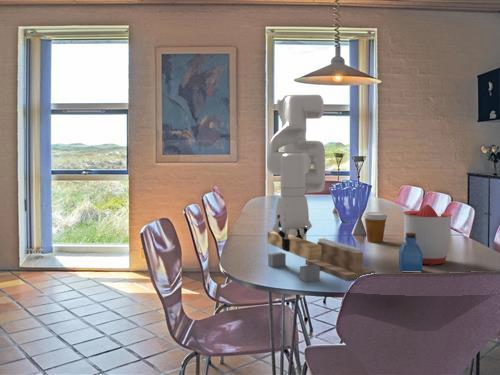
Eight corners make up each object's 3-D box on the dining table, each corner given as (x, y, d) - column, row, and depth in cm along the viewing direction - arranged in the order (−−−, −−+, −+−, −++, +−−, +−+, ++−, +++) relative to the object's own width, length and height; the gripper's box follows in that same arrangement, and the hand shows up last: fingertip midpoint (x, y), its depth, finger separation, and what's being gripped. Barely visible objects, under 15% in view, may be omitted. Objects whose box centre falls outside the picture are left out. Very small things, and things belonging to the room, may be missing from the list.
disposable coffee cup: (389, 243, 193) (390, 215, 192) (366, 243, 193) (367, 215, 192) (382, 239, 202) (383, 212, 202) (361, 239, 202) (361, 212, 202)
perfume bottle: (422, 273, 146) (422, 235, 145) (401, 272, 147) (402, 235, 146) (418, 268, 152) (419, 232, 151) (398, 267, 153) (399, 231, 152)
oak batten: (267, 243, 158) (267, 231, 158) (277, 241, 160) (277, 230, 160) (309, 260, 135) (309, 246, 135) (321, 258, 137) (321, 245, 136)
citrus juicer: (460, 260, 162) (461, 203, 161) (438, 269, 150) (440, 208, 149) (417, 253, 174) (418, 200, 172) (394, 261, 161) (395, 204, 160)
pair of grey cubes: (268, 265, 156) (268, 253, 156) (281, 263, 159) (281, 252, 158) (305, 282, 136) (305, 268, 136) (319, 280, 138) (319, 266, 138)
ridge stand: (305, 264, 158) (305, 239, 157) (332, 260, 162) (332, 236, 162) (346, 280, 138) (346, 251, 137) (374, 275, 143) (375, 248, 142)
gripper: (308, 190, 153) (308, 244, 154) (263, 193, 145) (263, 250, 147) (321, 192, 146) (321, 249, 148) (275, 195, 139) (275, 255, 140)
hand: (292, 249), depth 147 cm, fingers closed on oak batten, 4 cm apart
